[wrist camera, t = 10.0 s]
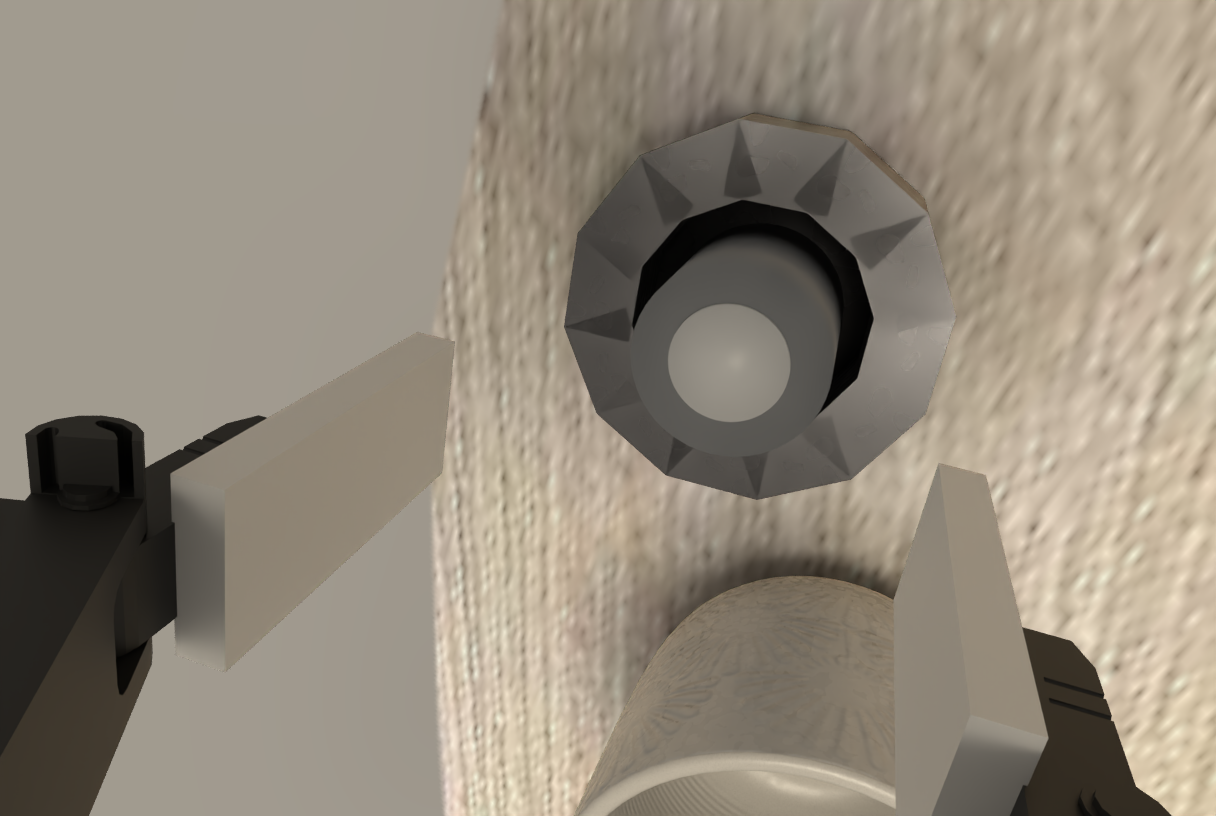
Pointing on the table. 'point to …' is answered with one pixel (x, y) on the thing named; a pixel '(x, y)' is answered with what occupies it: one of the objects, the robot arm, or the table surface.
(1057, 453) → the table surface
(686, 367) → the cap
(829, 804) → the planter
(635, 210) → the grey ring
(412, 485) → the robot arm
